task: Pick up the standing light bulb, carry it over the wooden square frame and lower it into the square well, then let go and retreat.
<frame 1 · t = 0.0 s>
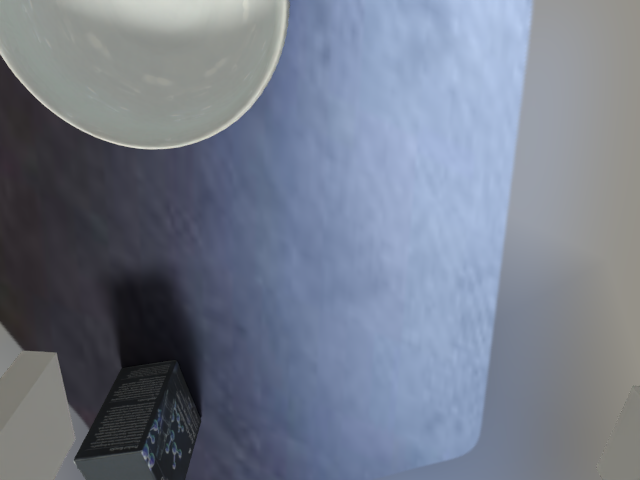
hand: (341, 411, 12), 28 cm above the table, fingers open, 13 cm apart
box: (163, 391, 50), on the table
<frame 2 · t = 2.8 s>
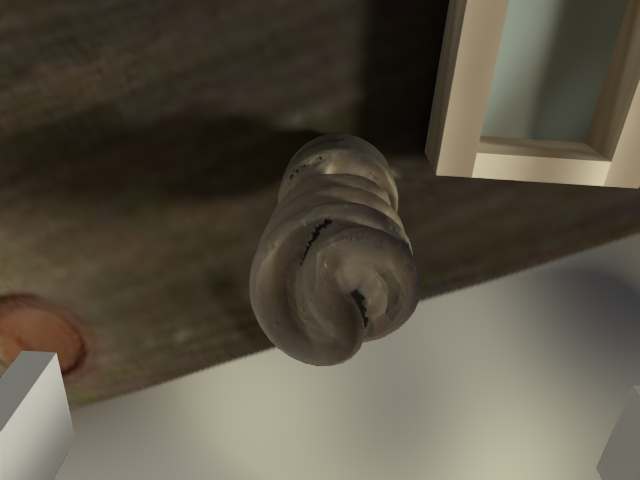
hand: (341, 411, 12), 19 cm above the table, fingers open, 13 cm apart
wooden square frame: (538, 63, 26), on the table
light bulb: (332, 153, 29), on the table
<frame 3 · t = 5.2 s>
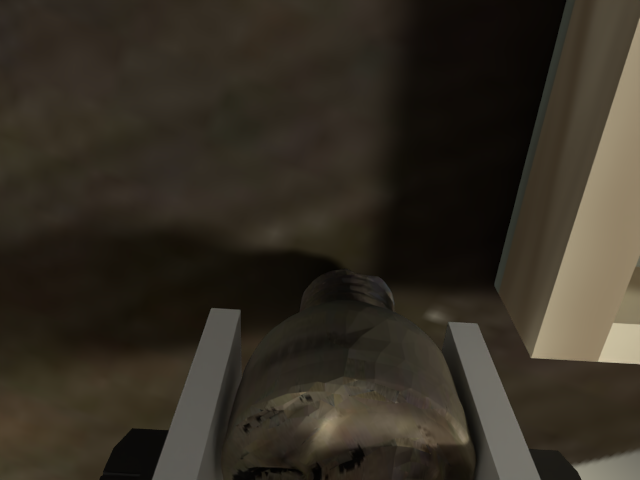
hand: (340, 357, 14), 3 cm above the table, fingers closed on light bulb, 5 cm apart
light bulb: (337, 285, 17), on the table, touching gripper
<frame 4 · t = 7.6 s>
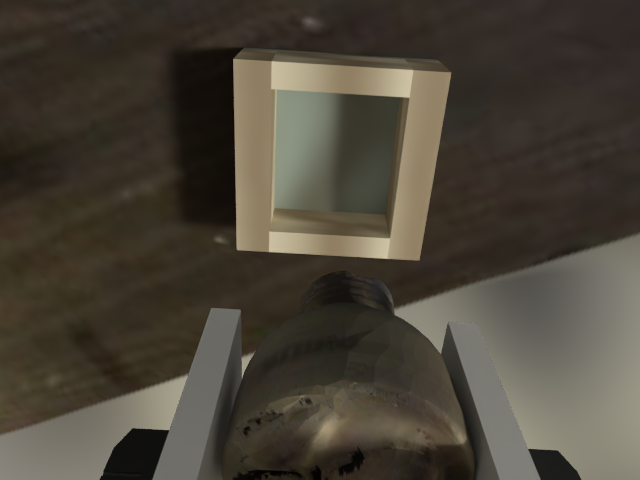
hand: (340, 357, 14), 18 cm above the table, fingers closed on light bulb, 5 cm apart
wooden square frame: (334, 147, 29), on the table
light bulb: (337, 287, 17), point 14 cm above the table, touching gripper
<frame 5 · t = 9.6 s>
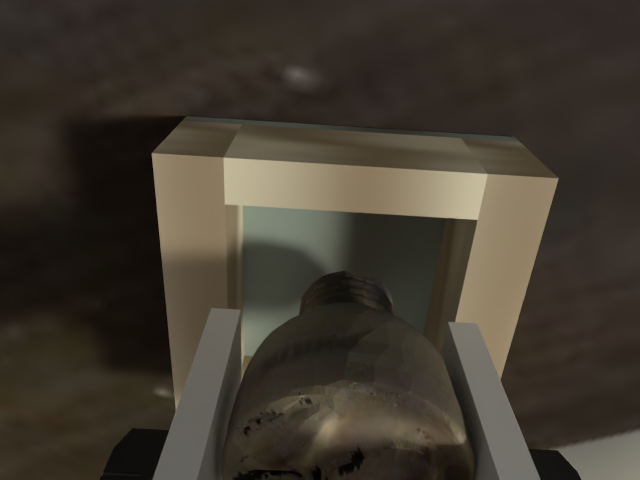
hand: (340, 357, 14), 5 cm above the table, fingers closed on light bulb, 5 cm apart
wooden square frame: (338, 267, 18), on the table
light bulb: (336, 287, 17), point 1 cm above the table, touching gripper
when the fingers open (5 cm above the table, at t = 10.1 s): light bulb stays where it is, resting on wooden square frame.
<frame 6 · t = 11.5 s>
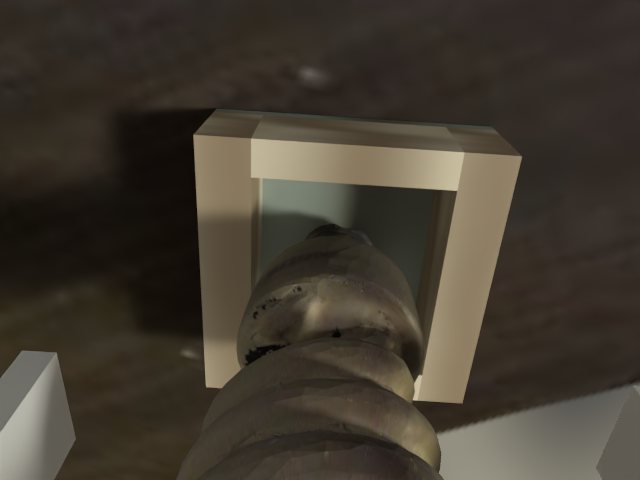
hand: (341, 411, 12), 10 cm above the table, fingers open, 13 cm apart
wooden square frame: (343, 240, 21), on the table
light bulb: (329, 243, 21), resting on wooden square frame
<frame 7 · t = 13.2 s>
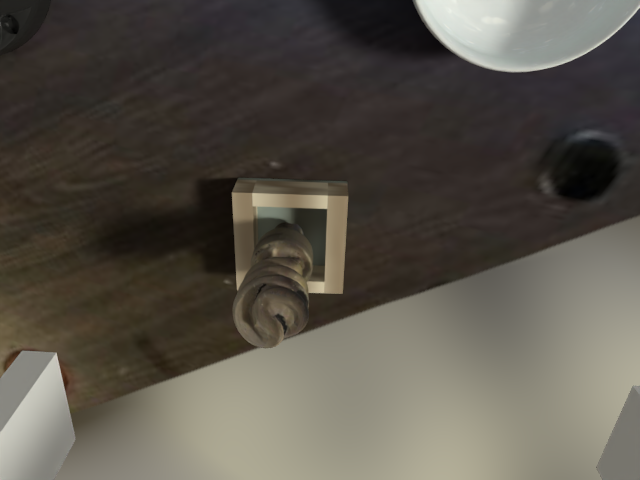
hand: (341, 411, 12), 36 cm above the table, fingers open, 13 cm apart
wooden square frame: (292, 228, 50), on the table
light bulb: (286, 229, 50), resting on wooden square frame
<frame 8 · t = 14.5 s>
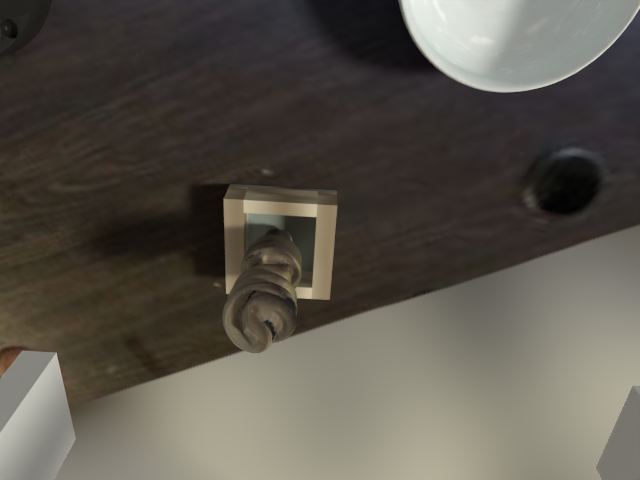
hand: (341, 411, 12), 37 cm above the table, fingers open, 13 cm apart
wooden square frame: (282, 234, 52), on the table
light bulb: (276, 235, 51), resting on wooden square frame
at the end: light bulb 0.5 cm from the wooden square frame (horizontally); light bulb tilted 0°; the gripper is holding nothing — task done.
